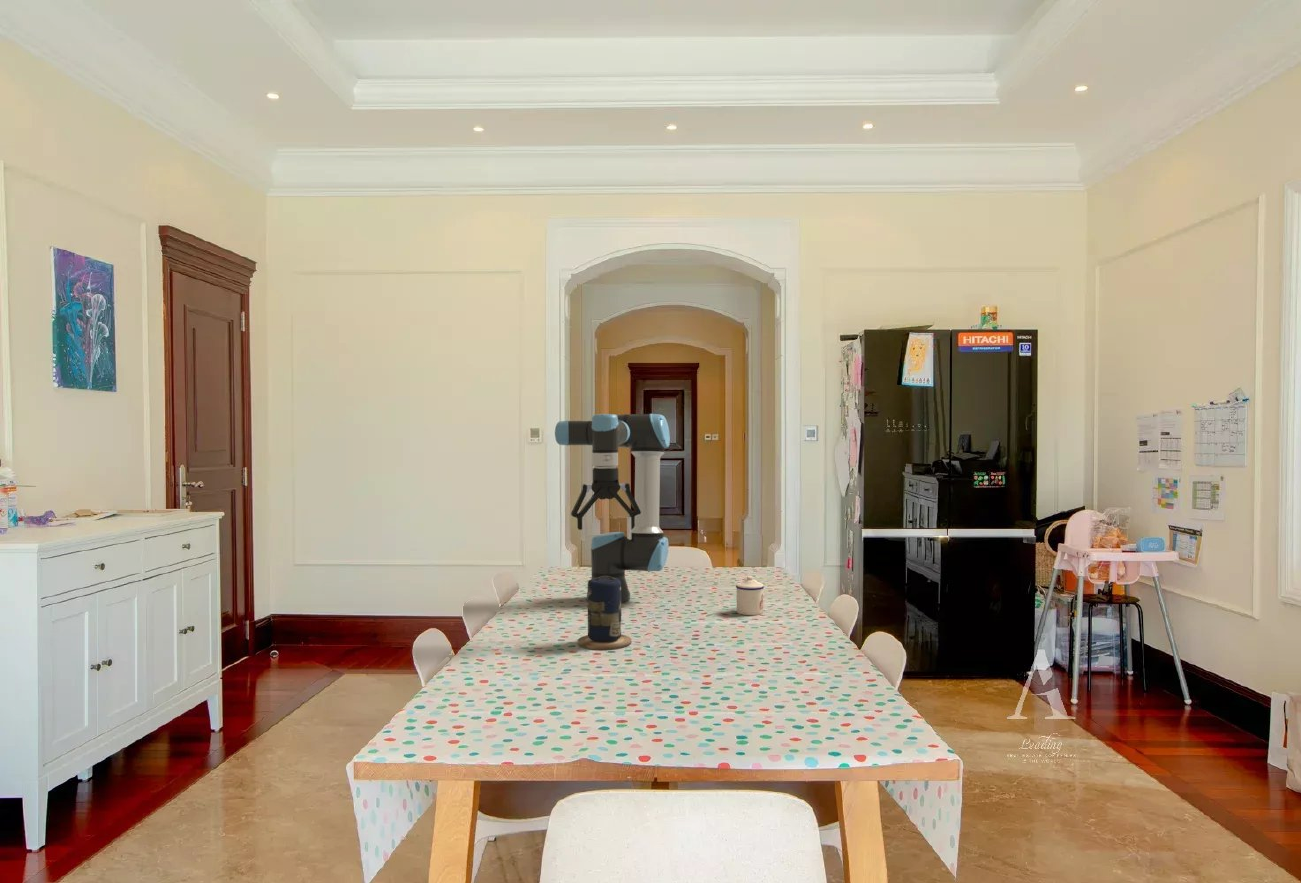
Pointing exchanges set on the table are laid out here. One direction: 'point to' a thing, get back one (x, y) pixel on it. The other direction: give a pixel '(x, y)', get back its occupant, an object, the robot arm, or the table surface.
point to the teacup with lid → (749, 597)
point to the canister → (604, 609)
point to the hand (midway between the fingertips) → (606, 540)
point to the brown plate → (604, 643)
